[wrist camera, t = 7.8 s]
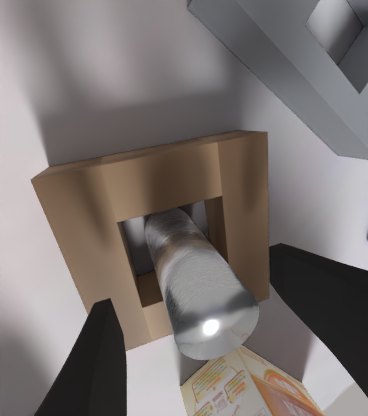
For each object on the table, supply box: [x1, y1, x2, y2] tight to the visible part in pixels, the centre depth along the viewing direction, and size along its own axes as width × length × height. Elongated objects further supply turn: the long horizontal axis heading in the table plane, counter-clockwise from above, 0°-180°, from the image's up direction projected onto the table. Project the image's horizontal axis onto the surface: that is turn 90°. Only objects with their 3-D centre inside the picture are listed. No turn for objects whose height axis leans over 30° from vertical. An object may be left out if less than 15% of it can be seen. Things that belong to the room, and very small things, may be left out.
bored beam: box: [188, 0, 368, 160], centre depth 12 cm, size 14×8×3 cm, turn 57°
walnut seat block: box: [31, 130, 269, 351], centre depth 14 cm, size 11×11×3 cm
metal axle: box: [145, 208, 259, 360], centre depth 12 cm, size 3×3×8 cm
